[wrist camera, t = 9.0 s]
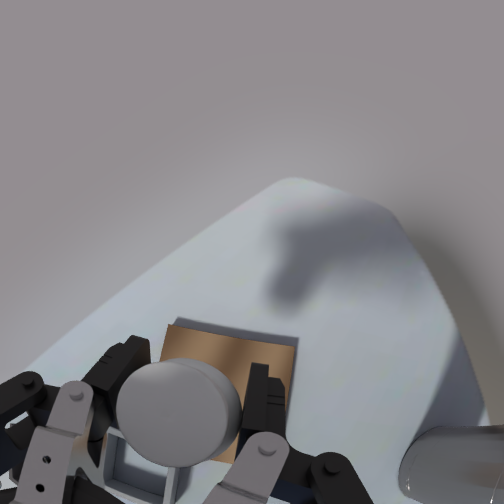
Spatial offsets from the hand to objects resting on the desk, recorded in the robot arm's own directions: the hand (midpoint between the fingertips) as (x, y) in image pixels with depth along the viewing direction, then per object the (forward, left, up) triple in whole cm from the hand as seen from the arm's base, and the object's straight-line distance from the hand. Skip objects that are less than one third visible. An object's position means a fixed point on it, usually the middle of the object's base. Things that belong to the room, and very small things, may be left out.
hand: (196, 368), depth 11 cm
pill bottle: (0, +2, -4) cm, 5 cm away
